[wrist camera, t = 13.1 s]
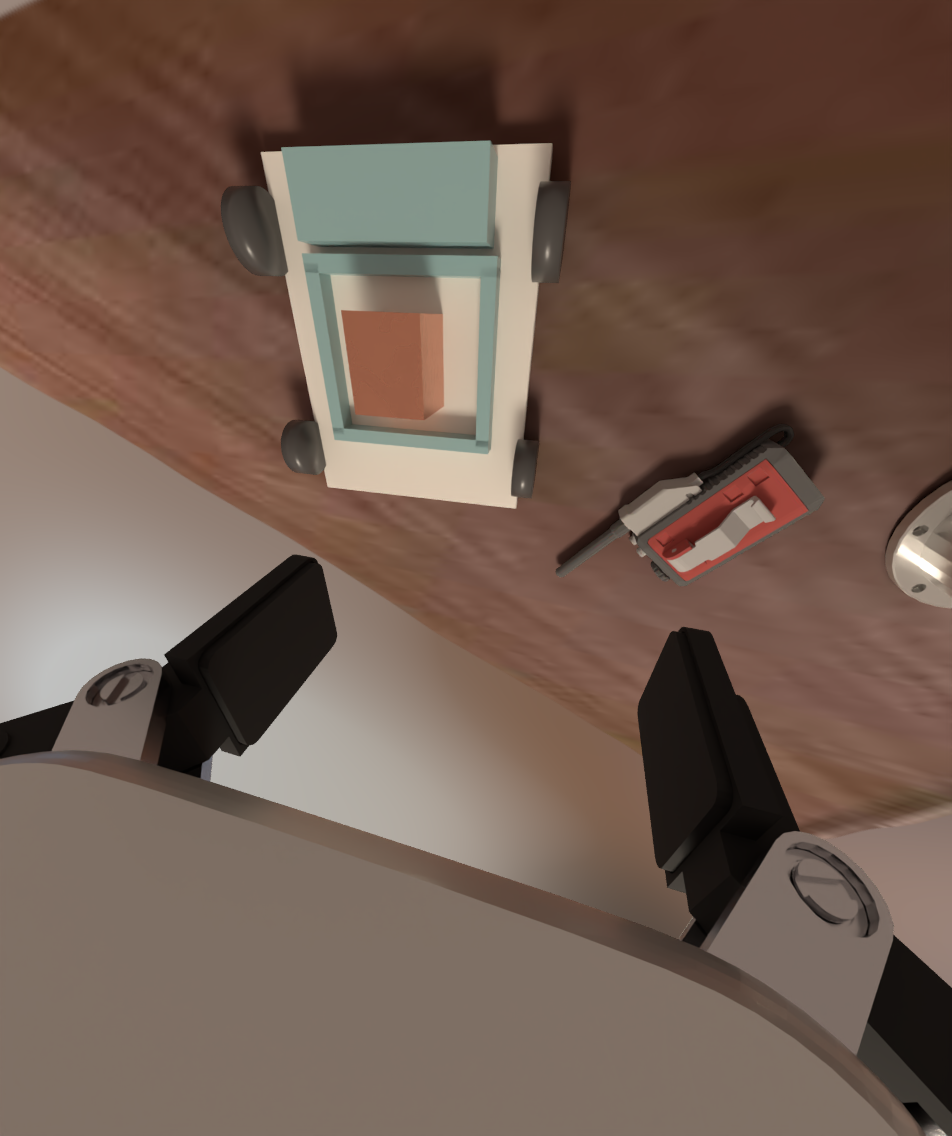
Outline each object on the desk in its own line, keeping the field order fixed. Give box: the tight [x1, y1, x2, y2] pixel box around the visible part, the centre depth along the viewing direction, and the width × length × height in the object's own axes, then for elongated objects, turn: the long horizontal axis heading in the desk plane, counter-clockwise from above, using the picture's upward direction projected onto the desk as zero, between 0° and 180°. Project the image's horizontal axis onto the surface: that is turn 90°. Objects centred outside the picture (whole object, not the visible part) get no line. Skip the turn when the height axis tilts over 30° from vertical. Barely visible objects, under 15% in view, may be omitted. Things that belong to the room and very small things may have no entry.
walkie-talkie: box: [556, 424, 825, 586], centre depth 31 cm, size 9×4×20 cm
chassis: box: [221, 141, 571, 509], centre depth 27 cm, size 21×22×4 cm
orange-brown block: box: [341, 310, 444, 420], centre depth 26 cm, size 5×6×5 cm
